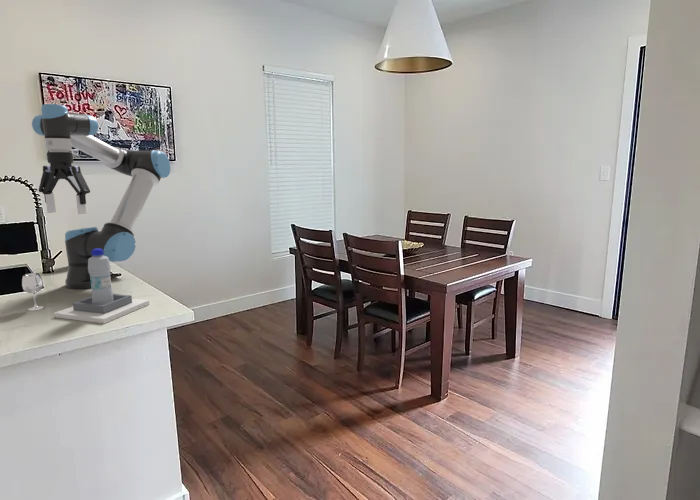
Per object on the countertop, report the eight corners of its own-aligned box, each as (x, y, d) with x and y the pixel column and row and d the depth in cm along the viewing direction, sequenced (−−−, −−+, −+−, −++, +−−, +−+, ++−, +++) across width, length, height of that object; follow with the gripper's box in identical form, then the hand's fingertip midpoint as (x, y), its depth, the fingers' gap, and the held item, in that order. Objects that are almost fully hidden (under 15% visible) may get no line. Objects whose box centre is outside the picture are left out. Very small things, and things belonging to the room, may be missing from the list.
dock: (103, 299, 166) (102, 288, 165) (149, 304, 160) (148, 293, 160) (54, 317, 147) (53, 305, 146) (104, 323, 141) (103, 311, 141)
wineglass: (28, 307, 157) (23, 273, 155) (47, 305, 159) (43, 272, 157) (23, 312, 152) (18, 277, 150) (44, 310, 154) (39, 275, 152)
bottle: (105, 310, 150) (98, 250, 146) (87, 308, 151) (80, 249, 147) (119, 303, 156) (113, 246, 152) (102, 302, 157) (95, 246, 153)
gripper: (21, 151, 155) (29, 213, 159) (78, 151, 148) (86, 215, 152) (41, 151, 162) (49, 210, 166) (97, 151, 155) (103, 213, 159)
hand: (66, 213), depth 159 cm, fingers open, 13 cm apart
